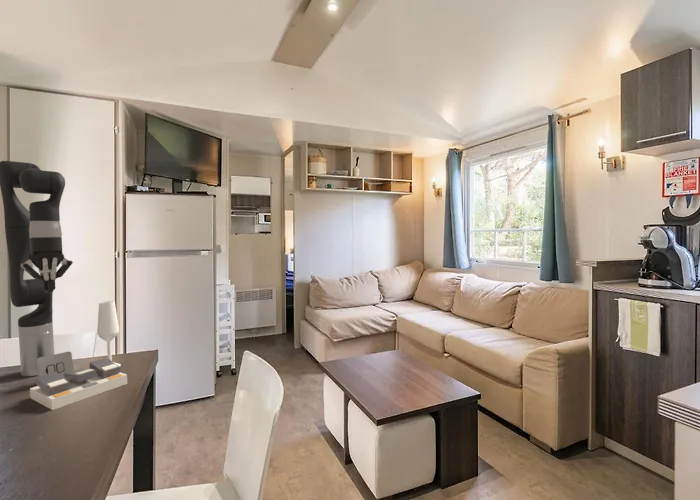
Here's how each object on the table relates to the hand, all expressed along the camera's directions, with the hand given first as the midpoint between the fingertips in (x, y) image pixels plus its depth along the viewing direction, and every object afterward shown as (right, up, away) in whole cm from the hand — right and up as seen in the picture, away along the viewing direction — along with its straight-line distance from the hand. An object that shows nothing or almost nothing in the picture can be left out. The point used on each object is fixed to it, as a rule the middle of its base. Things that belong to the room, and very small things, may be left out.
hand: (48, 292), depth 112 cm
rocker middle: (+9, -26, 0) cm, 27 cm away
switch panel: (+9, -31, +1) cm, 32 cm away
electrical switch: (-5, -31, +8) cm, 32 cm away
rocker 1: (+6, -26, -6) cm, 27 cm away
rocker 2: (+13, -25, +6) cm, 29 cm away
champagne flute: (+5, -30, +21) cm, 37 cm away
